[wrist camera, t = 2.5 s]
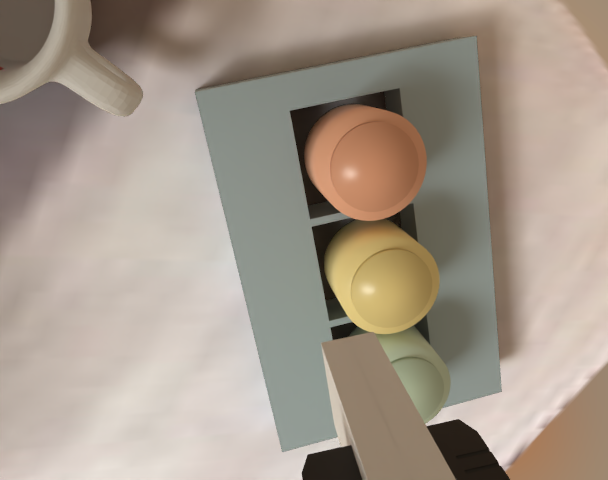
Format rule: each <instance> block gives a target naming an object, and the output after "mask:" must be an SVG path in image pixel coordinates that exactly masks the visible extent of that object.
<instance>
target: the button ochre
mask: <svg viewBox="0 0 608 480" xmlns="http://www.w3.org/2000/svg"><path fill="white" fill-rule="evenodd" d="M324 272H325V276H326V279H327V281H328V283H329V285H330V286H331V288H332V290H333V292H334V293H335V295H336V297H337V299H338V300H339V302H340V304H341V306H342V307H343V309H344V311H345V312H346V314H347V316H348V317H349V318H350V320H351V321H352V322H353V323H354V324H356V325H357V326H358V327H360V328H361V329H364V330H366V331H368V332H374V333H376V334H392V333H397V332H400V331H403V330H405V329H408V328H410V327H411V326H413V325H415V324H416V323H417V322H419V321H420V320H421V319H422V318H423V317H424V316H425V315H426V314H427V313H428V312H429V310H430V309H431V307H432V306H433V304H434V302H435V300H436V297H437V294H438V290H439V283H440V278H439V270H438V267H437V264H436V262H435V260H434V258H433V257H432V255H431V254H430V253H429V252H428V251H427V250H426V249H425V248H424V247H423V246H422V245H420V244H419V243H418V242H417V241H416V240H414V239H413V238H412V237H411V236H410V235H408V234H407V233H406V232H405V231H403V230H402V229H401V228H400V227H399V226H397V225H396V224H395V223H393V222H391V221H389V220H386V219H381V220H375V221H363V220H355V221H352V222H350V223H348V224H347V225H345V226H344V227H343V228H341V229H340V230H339V231H338V232H337V233H336V234H335V235H334V237H333V238H332V239H331V241H330V243H329V245H328V247H327V249H326V252H325V257H324Z"/></svg>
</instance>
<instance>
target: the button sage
mask: <svg viewBox="0 0 608 480" xmlns="http://www.w3.org/2000/svg"><path fill="white" fill-rule="evenodd" d="M365 333H370V332H368V331H366V330H364V329H361V328H360V327H357V328H356V329H355V330H354V331H353V332H352V333H351V334H350V335H349V337H351V336H356V335H360V334H365ZM375 335H376V337H377V338H378V340H379V342H380V344H381V346H382V347H383V349H384V351H385V353H386V355H387V356H388V358H389V360H390V362H391V364H392V365H393V367H394V369H395V371H396V373H397V374H398V376H399V378H400V380H401V382H402V383H403V385H404V387H405V389H406V391H407V392H408V394H409V396H410V398H411V400H412V401H413V403H414V405H415V407H416V409H417V410H418V412H419V414H420V416H421V418H422V419H423V421H424V423H427V422H428V421H430V420H431V419H432V418H434V417H435V416H436V415H437V414H438V412H439V411H440V410H441V409H442V407H443V406H444V404H445V402H446V401H447V398H448V395H449V392H450V386H451V379H450V374H449V371H448V368H447V366H446V364H445V363H444V362H443V360H442V359H441V358H440V357H439V356H438V354H437V353H436V352H435V351H434V349H433V348H432V347H431V346H430V344H429V343H428V342H427V341H426V339H425V338H424V337H423V336H422V335H421V333H420V332H419V331H418V330H417V328H416V327H415V326H414V325H413V326H411V327H410V328H408V329H405V330H403V331H400V332H397V333H392V334H376V333H375Z"/></svg>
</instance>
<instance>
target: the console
mask: <svg viewBox="0 0 608 480" xmlns="http://www.w3.org/2000/svg"><path fill="white" fill-rule="evenodd" d="M382 91H384V95H385V103H386V110H387V111H390V112H394V113H396V114H398V115H400V116H402V117H404V118H405V119H407V120H408V121H409V122H410V123H411V124H412V125H413V126H414V127H415V128H416V129H417V131H418V133H419V134H420V136H421V138H422V140H423V143H424V146H425V150H426V156H427V166H426V173H425V177H424V180H423V183H422V185H421V188H420V190H419V191H418V193H417V195H416V196H415V197H414V199H413V200H412V201H411V202H410V203H409V204H408V205H407V206H406V207H405V208H404V209H402V210H401V211H400V220H401V227H402V230H403V231H405V232H406V233H407V234H408V235H410V236H411V237H412V238H413V239H414V240H416V241H417V242H418V243H419V244H420V245H422V246H423V247H424V248H425V249H426V250H427V251H428V252H429V253H430V254H431V255H432V257H433V258H434V260H435V262H436V264H437V267H438V270H439V278H440V283H439V290H438V294H437V297H436V300H435V302H434V304H433V306H432V307H431V309H430V310H429V312H428V313H427V314H426V315H425V316H424V317H423V318H422V319H421V320H420V321H419V322H417V323H416V324H415V325H414V326H415V327H416V328H417V330H418V331H419V332H420V333H421V335H422V336H423V337H424V338H425V339H426V341H427V342H428V343H429V344H430V346H431V347H432V348H433V349H434V351H435V352H436V353H437V354H438V356H439V357H440V358H441V359H442V360H443V362H444V363H445V364H446V366H447V368H448V371H449V374H450V379H451V386H450V392H449V395H448V398H447V401H446V402H445V404H444V406H443V407H442V408H444V407H448V406H452V405H455V404H459V403H463V402H466V401H470V400H473V399H477V398H481V397H484V396H488V395H492V394H495V393H499V392H502V389H501V375H500V361H499V347H498V332H497V318H496V304H495V290H494V276H493V262H492V248H491V234H490V219H489V205H488V191H487V177H486V163H485V149H484V135H483V120H482V106H481V92H480V78H479V64H478V50H477V36H472V37H463V38H454V39H449V40H444V41H439V42H434V43H429V44H424V45H418V46H413V47H408V48H403V49H398V50H393V51H388V52H383V53H378V54H373V55H368V56H363V57H358V58H353V59H348V60H343V61H338V62H333V63H328V64H323V65H318V66H313V67H308V68H303V69H298V70H293V71H288V72H283V73H278V74H273V75H268V76H262V77H257V78H252V79H247V80H242V81H237V82H232V83H227V84H222V85H217V86H212V87H207V88H202V89H197V90H195V95H196V99H197V103H198V107H199V111H200V115H201V119H202V123H203V128H204V132H205V136H206V140H207V144H208V148H209V152H210V156H211V160H212V165H213V169H214V173H215V177H216V181H217V185H218V189H219V193H220V198H221V202H222V206H223V210H224V214H225V218H226V222H227V226H228V231H229V235H230V239H231V243H232V247H233V251H234V255H235V259H236V263H237V268H238V272H239V276H240V280H241V284H242V288H243V292H244V296H245V301H246V305H247V309H248V313H249V317H250V321H251V325H252V329H253V334H254V338H255V342H256V346H257V350H258V354H259V358H260V362H261V366H262V371H263V375H264V379H265V383H266V387H267V391H268V395H269V399H270V404H271V408H272V412H273V416H274V420H275V424H276V428H277V432H278V436H279V441H280V445H281V449H282V452H285V451H289V450H292V449H296V448H299V447H303V446H307V445H310V444H314V443H318V442H321V441H325V440H328V439H332V438H336V437H338V435H337V432H336V429H335V425H334V420H333V414H332V408H331V402H330V395H329V389H328V383H327V377H326V371H325V365H324V359H323V353H322V347H321V343H322V342H327V341H332V340H333V339H332V334H331V328H330V327H334V326H338V325H342V324H346V323H350V322H352V321H351V320H350V318H349V317H348V316H347V314H346V312H345V311H344V309H343V307H342V306H341V304H340V302H339V300H338V299H337V298H334V299H330V300H326V301H325V296H324V291H323V286H322V280H321V275H320V270H319V264H318V259H317V254H316V248H315V243H314V238H313V232H312V227H313V226H317V225H321V224H326V223H330V222H334V221H339V220H343V219H347V218H351V217H348V216H346V215H344V214H343V213H341V212H340V211H338V210H337V209H336V208H335V207H334V206H333V205H332V204H331V203H330V202H329V201H327V202H323V203H318V204H314V205H309V206H307V201H306V195H305V190H304V185H303V179H302V174H301V169H300V163H299V158H298V153H297V147H296V142H295V137H294V131H293V126H292V121H291V115H290V111H291V110H295V109H300V108H305V107H310V106H315V105H320V104H324V103H329V102H334V101H339V100H344V99H349V98H353V97H358V96H363V95H368V94H373V93H378V92H382Z"/></svg>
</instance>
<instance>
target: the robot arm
mask: <svg viewBox="0 0 608 480" xmlns="http://www.w3.org/2000/svg"><path fill="white" fill-rule="evenodd" d="M321 347H322V353H323V359H324V365H325V371H326V377H327V383H328V389H329V395H330V402H331V408H332V414H333V420H334V425H335V429H336V432H337V435H338V439H339V442H340V445H341V447H340V448H335V449H331V450H327V451H322V452H318V453H313V454H309V455H308V456H307V459H306V462H305V465H304V468H303V471H302V477H303V480H510V479H509V477H508V476H507V474H506V473H505V471H504V470H503V468H502V467H501V466H499V463H498V461H497V460H496V458H495V457H494V455H493V454H492V452H490V451H489V448H488V447H487V445H486V444H485V442H484V441H483V439H482V438H481V436H480V435H479V434H478V432H477V431H475V430H474V429H472V428H471V427H469V426H468V425H466V424H465V423H464V422H462V421H461V420H459V419H457V420H453V421H448V422H444V423H440V424H435V425H431V426H426V425H425V423H424V421H423V419H422V418H421V416H420V414H419V412H418V410H417V409H416V407H415V405H414V403H413V401H412V400H411V398H410V396H409V394H408V392H407V391H406V389H405V387H404V385H403V383H402V382H401V380H400V378H399V376H398V374H397V373H396V371H395V369H394V367H393V365H392V364H391V362H390V360H389V358H388V356H387V355H386V353H385V351H384V349H383V347H382V346H381V344H380V342H379V340H378V338H377V337H376V335H375V333H374V332H370V333H365V334H360V335H356V336H351V337H346V338H341V339H337V340H332V341H327V342H322V343H321Z"/></svg>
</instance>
